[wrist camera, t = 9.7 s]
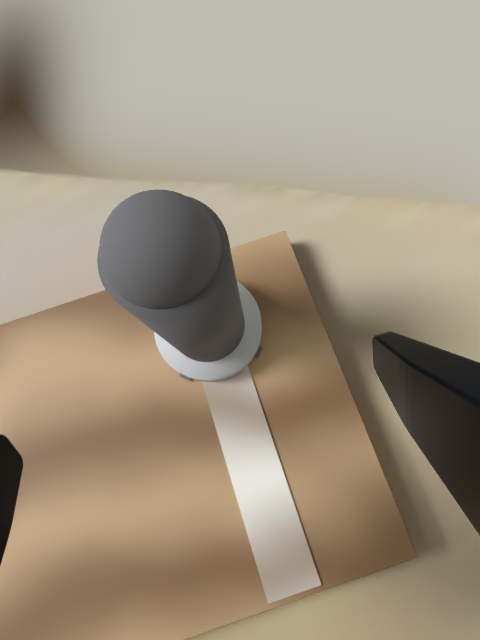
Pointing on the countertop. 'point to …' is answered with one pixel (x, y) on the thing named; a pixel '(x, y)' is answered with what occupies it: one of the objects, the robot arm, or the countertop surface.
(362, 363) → the countertop surface
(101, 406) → the board
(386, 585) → the countertop surface
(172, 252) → the grey domed cylinder
